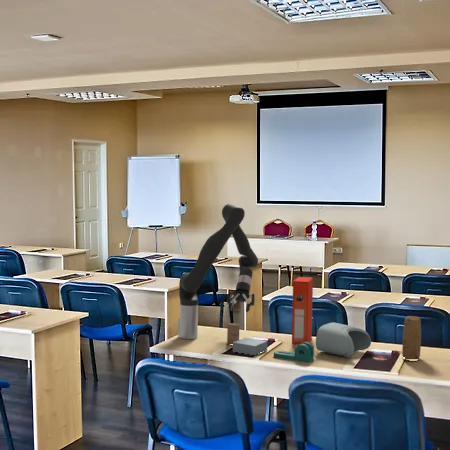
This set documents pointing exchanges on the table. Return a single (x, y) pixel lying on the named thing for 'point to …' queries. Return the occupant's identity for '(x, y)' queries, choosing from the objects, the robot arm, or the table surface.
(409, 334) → the block
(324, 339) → the grey hollow scoop
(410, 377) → the table surface
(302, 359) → the bracket
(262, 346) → the slate block
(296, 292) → the file binder
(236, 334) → the walnut block
